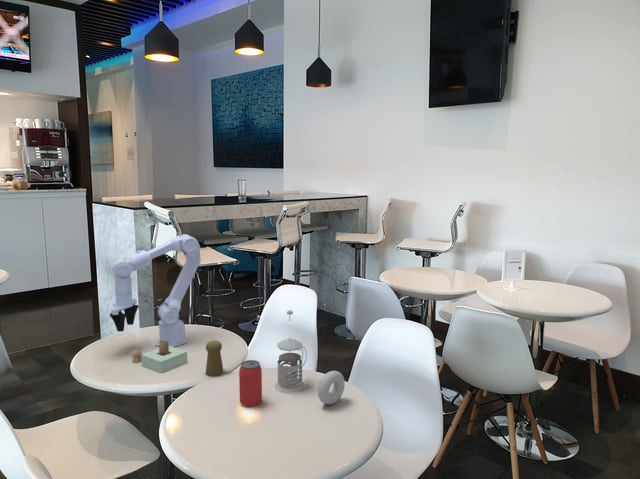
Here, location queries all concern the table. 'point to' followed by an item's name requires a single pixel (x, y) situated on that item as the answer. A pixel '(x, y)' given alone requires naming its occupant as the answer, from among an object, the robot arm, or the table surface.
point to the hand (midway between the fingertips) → (125, 327)
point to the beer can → (250, 383)
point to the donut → (336, 390)
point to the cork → (214, 359)
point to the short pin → (136, 355)
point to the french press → (285, 380)
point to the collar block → (164, 359)
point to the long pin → (163, 348)
